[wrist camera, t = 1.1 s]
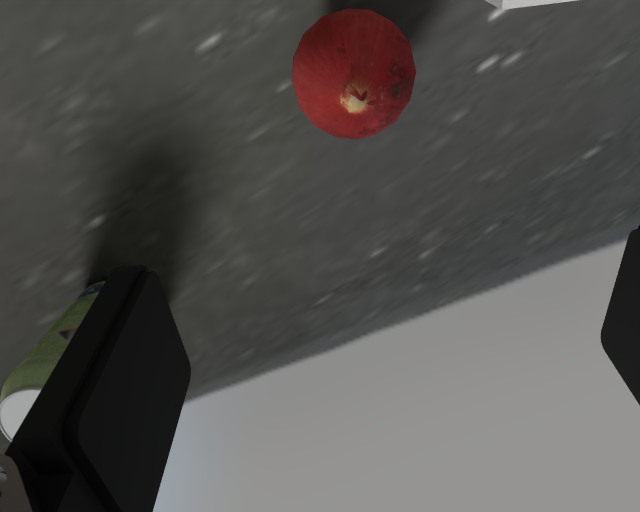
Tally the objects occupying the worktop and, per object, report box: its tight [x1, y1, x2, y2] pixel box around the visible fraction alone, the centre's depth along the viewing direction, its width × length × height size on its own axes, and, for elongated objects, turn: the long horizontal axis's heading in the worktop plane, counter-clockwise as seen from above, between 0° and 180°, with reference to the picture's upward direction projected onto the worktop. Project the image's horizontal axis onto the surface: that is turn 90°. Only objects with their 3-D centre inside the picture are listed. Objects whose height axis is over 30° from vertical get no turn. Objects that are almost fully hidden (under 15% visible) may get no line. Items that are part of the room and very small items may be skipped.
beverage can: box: [0, 281, 105, 442], centre depth 31 cm, size 6×7×12 cm
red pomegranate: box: [292, 8, 416, 139], centre depth 23 cm, size 6×6×8 cm
